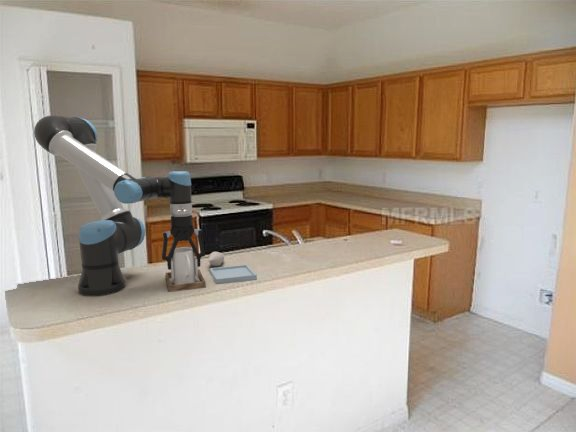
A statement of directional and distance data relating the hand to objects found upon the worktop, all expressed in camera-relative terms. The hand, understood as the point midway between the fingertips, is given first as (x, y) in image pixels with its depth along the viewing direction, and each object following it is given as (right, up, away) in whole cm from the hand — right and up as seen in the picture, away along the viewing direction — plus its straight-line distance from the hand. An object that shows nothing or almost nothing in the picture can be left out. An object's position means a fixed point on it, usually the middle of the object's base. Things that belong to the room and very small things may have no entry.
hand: (184, 276), depth 155 cm
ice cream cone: (+8, +1, +21) cm, 22 cm away
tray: (+17, -1, +8) cm, 18 cm away
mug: (0, -2, 0) cm, 2 cm away
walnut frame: (0, -2, 0) cm, 2 cm away
